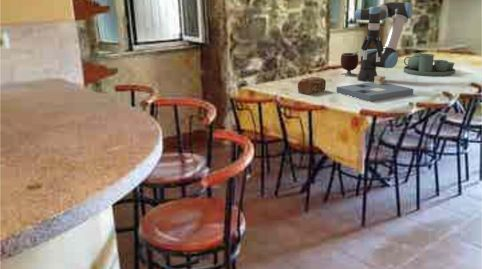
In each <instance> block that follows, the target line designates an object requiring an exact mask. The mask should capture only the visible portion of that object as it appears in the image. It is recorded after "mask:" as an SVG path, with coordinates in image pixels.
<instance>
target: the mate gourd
mask: <svg viewBox="0 0 482 269" xmlns="http://www.w3.org/2000/svg"><path fill="white" fill-rule="evenodd" d="M340 65H341V67H342V69H344V70H345V71H346V72H343V73H341V74H340V75H341V76H342V75H345V76H344V77H357V76H358V75H357V73H354V72H353V73H352V71H353V70H356V69H357V67H358V65H359V51H356V52H344V53H341V56H340Z"/></svg>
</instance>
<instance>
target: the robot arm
mask: <svg viewBox="0 0 482 269" xmlns="http://www.w3.org/2000/svg"><path fill="white" fill-rule="evenodd" d="M413 11H414V10H413V5H412V3H411V2H406V1H405V2H404V1H402V2H401V1H398V2H397V1H395V2H394V1H393V2H392V1H391V2H385V3H381V4H378V5H377V6H370V7H368V8H357V9H356V10H355V13H354V15H355V16H354V17H355V19H356V21H357V20H358V21H368V27H367V29H368V30H367V35H365V37H364V41H363V43H362V45H361V48H360V49H361V50H362V51H361V55H360V68H359V73H358V75H357V78H356V79H357V80H358V81H360V82H374V78H375V76H378V73H377V68H382V69H383V68H385V69H393V68H395V67H396V66H397V64H398V62H399V54H398V50H397V46H398V44H399V41H400V38H401V35H402V31H403V29H404V25H405V23H407V22H408V20H409V19H412V17H413V13H414V12H413ZM387 18H391V20H392V23H391V26H390V28H389V32H388V34H387V38H386V40H385V44H384V46H383V42H382V37H379V35H380V27H381V22H382V21H385V20H387ZM371 44H373V45H374V46H375V48H373V49H371V48H370V49H368V48H369V47H370V46H371Z"/></svg>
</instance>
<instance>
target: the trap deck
mask: <svg viewBox="0 0 482 269" xmlns="http://www.w3.org/2000/svg"><path fill="white" fill-rule="evenodd" d="M336 92H337V93H336V94H339V93H341V94H340V95H343V94H345V95H344V96H347V95H349V96H348V97H350V96H352V97H351V98H354V97H356V98H355V99H357V98H359V99H358V100H361V99H362V101H365V100H366V101H365V102H368V101H372V102H376V100H378V101H382V100H390V99H394V98H395V99H397V98H402V97H408V96H413V95H414V88H413V87H412V88H411V87H406V86H402V85H397V84H393V83H389V82H385V84H380V85H379V84H374V81H368V82H363V83H356V84H348V85H339V86H336Z"/></svg>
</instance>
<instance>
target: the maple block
mask: <svg viewBox="0 0 482 269" xmlns="http://www.w3.org/2000/svg"><path fill="white" fill-rule="evenodd" d="M373 82H374V84H379V85H380V84H385V83H386V76H383V75H377V76H375V78H374V81H373Z"/></svg>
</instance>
